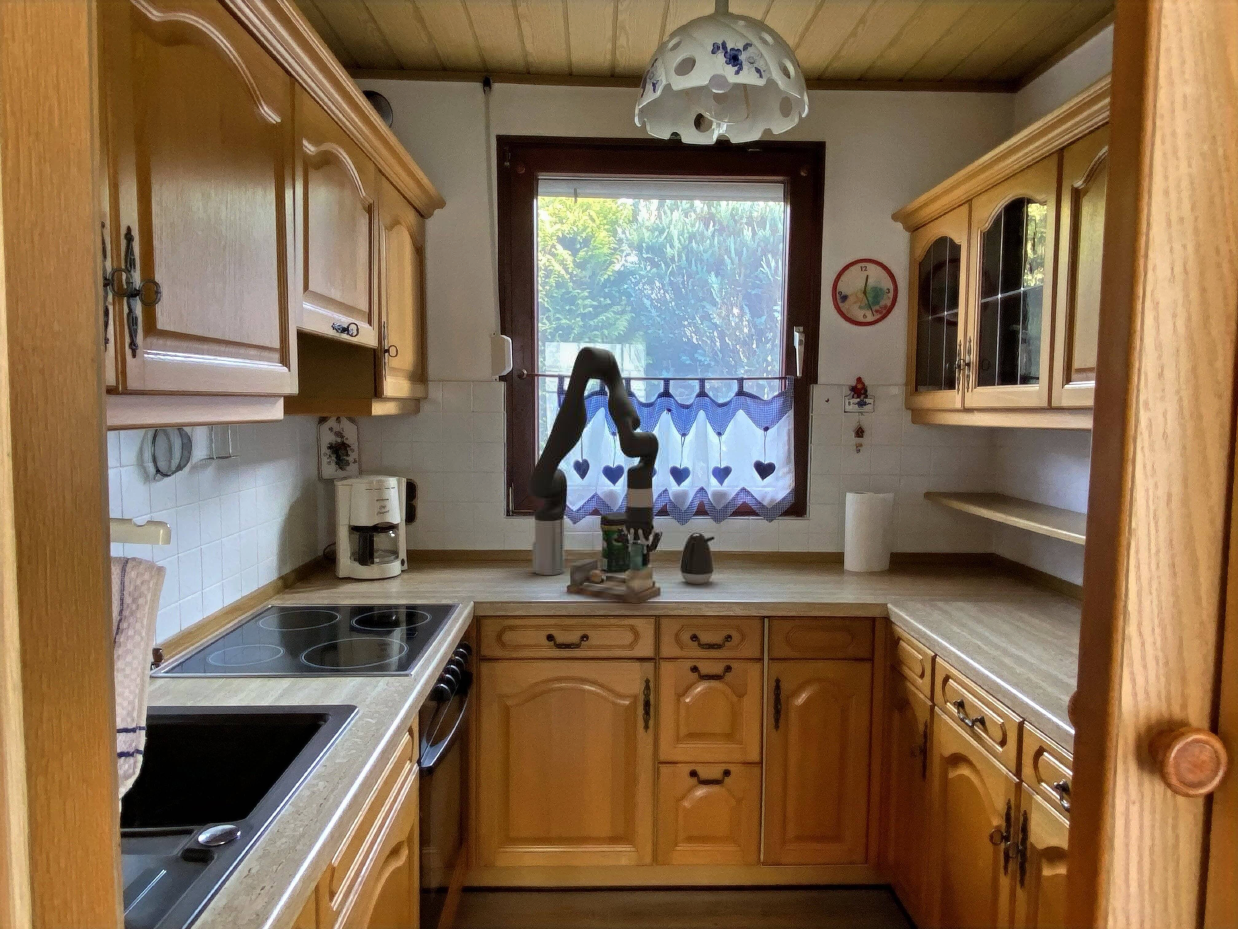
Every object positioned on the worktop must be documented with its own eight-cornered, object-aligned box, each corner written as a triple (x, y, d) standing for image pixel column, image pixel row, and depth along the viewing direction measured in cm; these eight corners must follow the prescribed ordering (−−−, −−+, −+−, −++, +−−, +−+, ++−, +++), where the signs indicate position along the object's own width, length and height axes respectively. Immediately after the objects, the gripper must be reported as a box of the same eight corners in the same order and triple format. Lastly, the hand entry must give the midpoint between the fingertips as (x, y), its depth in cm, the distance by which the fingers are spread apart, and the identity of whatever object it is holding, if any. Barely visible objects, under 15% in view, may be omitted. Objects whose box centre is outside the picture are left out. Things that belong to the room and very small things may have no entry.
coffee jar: (624, 566, 256) (624, 510, 254) (633, 571, 249) (634, 513, 247) (597, 568, 252) (596, 512, 251) (606, 573, 245) (605, 515, 243)
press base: (565, 592, 221) (565, 565, 220) (590, 583, 232) (590, 557, 232) (638, 604, 209) (638, 575, 208) (661, 593, 220) (661, 566, 219)
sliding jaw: (625, 592, 213) (625, 546, 211) (643, 585, 221) (643, 540, 220) (635, 594, 211) (635, 547, 210) (652, 586, 220) (652, 541, 218)
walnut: (585, 584, 223) (585, 570, 222) (593, 581, 226) (593, 568, 226) (597, 586, 221) (597, 572, 220) (604, 583, 224) (604, 569, 224)
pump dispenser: (710, 587, 227) (710, 536, 226) (676, 584, 230) (676, 534, 229) (717, 579, 237) (717, 530, 235) (684, 577, 240) (684, 528, 239)
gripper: (610, 503, 214) (611, 565, 216) (655, 507, 207) (655, 570, 209) (624, 500, 221) (624, 560, 222) (668, 504, 214) (668, 565, 215)
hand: (639, 565), depth 215 cm, fingers closed on sliding jaw, 3 cm apart
